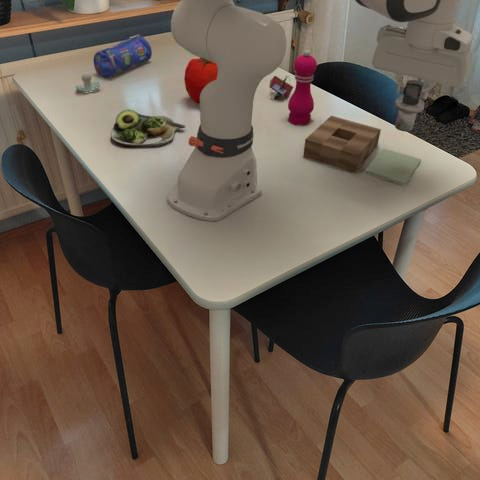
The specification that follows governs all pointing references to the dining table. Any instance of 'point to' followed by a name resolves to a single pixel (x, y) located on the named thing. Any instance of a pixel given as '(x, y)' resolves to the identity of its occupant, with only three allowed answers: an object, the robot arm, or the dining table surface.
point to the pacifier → (87, 84)
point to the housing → (341, 143)
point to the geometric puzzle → (280, 87)
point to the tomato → (199, 76)
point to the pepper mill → (302, 90)
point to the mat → (393, 166)
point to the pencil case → (122, 56)
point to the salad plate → (142, 129)
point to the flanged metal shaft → (409, 105)
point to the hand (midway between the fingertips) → (411, 95)
